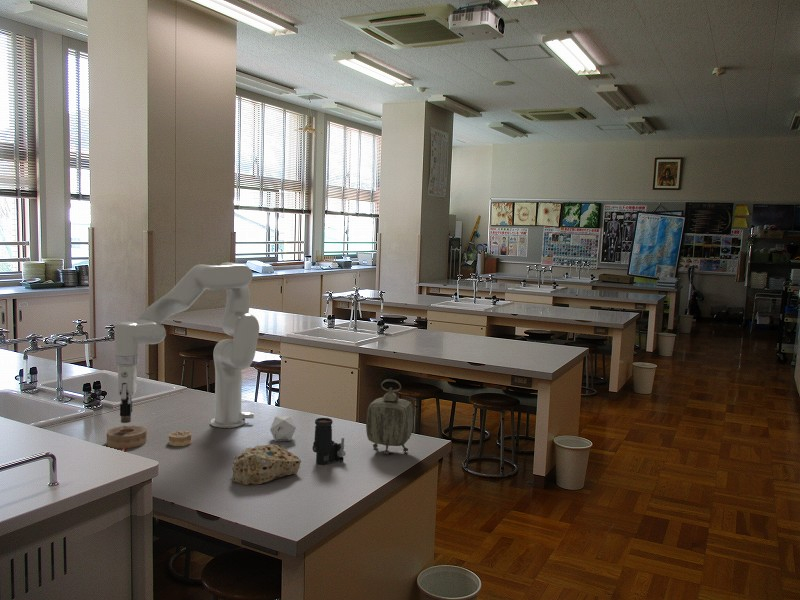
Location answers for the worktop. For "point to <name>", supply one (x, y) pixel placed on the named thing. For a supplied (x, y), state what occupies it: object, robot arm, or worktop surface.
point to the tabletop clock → (389, 420)
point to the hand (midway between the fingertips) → (126, 413)
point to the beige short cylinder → (179, 438)
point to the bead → (126, 436)
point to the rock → (264, 464)
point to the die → (282, 428)
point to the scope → (326, 443)
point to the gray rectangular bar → (126, 418)
